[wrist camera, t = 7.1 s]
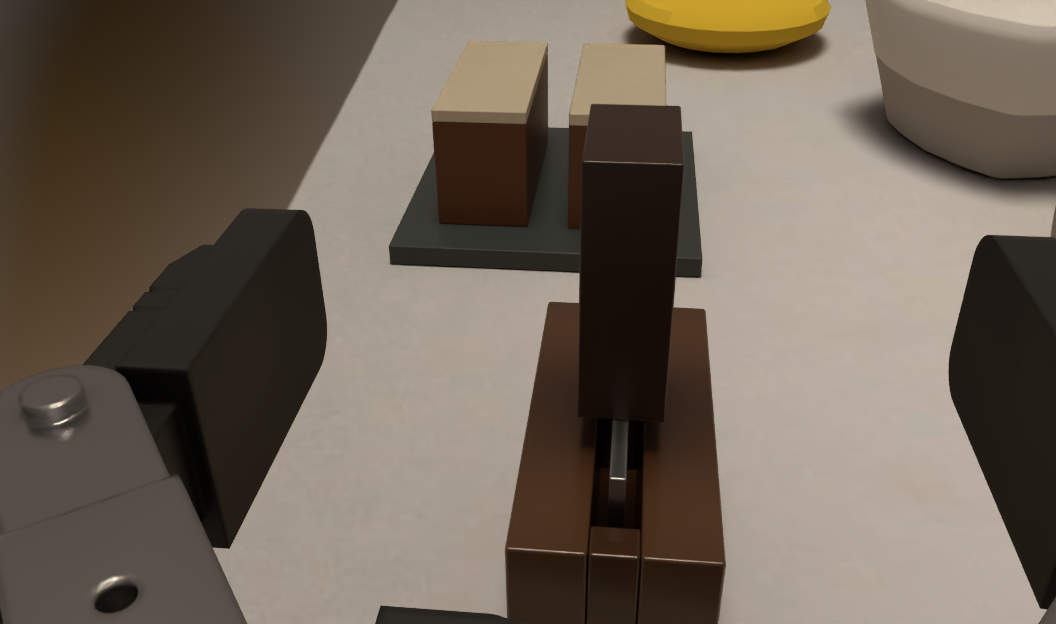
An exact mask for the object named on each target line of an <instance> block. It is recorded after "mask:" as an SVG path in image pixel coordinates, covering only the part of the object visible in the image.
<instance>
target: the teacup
mask: <svg viewBox="0 0 1056 624" xmlns="http://www.w3.org/2000/svg"><path fill="white" fill-rule="evenodd" d="M1051 237H1054V238H1056V207H1055V212H1054V218H1053V224H1052V230H1051Z"/></svg>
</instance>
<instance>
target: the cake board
mask: <svg viewBox="0 0 1056 624" xmlns="http://www.w3.org/2000/svg"><path fill="white" fill-rule="evenodd" d="M682 138H683V155H684V174H683V187H682V201H681V214H680V227H679V240H678V253H677V266H676V276H693V277H700V276H701V267H702V251H701V238H700V226H699V214H698V201H697V189H696V177H695V164H694V152H693V140H692V132H683V131H682ZM568 178H569V128H548V144H547V148H546V152H545V156H544V160H543V164H542V168H541V173H540V177H539V181H538V185H537V189H536V193H535V198H534V202H533V206H532V210H531V214H530V218H529V222H528V226H527V227H520V226H494V225H469V224H443V223H439V215H438V200H437V185H436V170H435V155H434V153H433V156H432V158H431V160H430V162H429V164H428V166H427V168H426V170H425V172H424V174H423V176H422V178H421V180H420V183H419V185H418V187H417V189H416V191H415V193H414V195H413V197H412V199H411V201H410V203H409V205H408V207H407V209H406V212H405V214H404V216H403V218H402V220H401V222H400V224H399V226H398V228H397V230H396V232H395V234H394V236H393V239H392V241H391V243H390V245H389V253H390V263H391V264H414V265H437V266H460V267H484V268H507V269H530V270H554V271H577V272H580V229H569V228H568Z"/></svg>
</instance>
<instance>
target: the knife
mask: <svg viewBox="0 0 1056 624" xmlns="http://www.w3.org/2000/svg"><path fill="white" fill-rule="evenodd" d="M683 174H684V155H683V138H682V121H681V108H680V106H658V105H620V104H591V106H590V112H589V119H588V125H587V131H586V138H585V144H584V150H583V157H582V167H581V225H580V283H579V341H578V399H577V416H578V417H579V418H596V419H613V424H612V441H611V458H610V475H609V497H608V522H607V527H614V528H624V516H625V497H626V478H627V451H628V425H629V420H631V421H649V422H664V421H665V411H666V398H667V385H668V372H669V358H670V345H671V332H672V319H673V306H674V293H675V279H676V266H677V253H678V240H679V227H680V214H681V201H682V187H683Z"/></svg>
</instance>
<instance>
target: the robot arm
mask: <svg viewBox="0 0 1056 624" xmlns="http://www.w3.org/2000/svg"><path fill="white" fill-rule="evenodd" d="M149 288H150V290H149V292H145V293H144V294H143V295H142V296H141V298H140V299H139V300H138V301H137V302H136V303H135V305H134V306H133V311H129V312H128V313H127V314H126V315H125V316H124V317H123V319H122V320H121V321H120V322H119V323H118V324H117V326H116V327H115V328H114V329H113V330H112V331H111V332H110V334H109V335H108V336H107V337H106V338H105V339H104V340H103V342H102V343H101V344H100V345H99V346H98V347H97V349H96V350H95V351H94V352H93V353H92V354H91V356H90V357H89V358H88V359H87V360H86V361H85V363H84V364H83V365H77V366H66V367H60V368H54V369H50V370H46V371H43V372H40V373H37V374H33V375H31V376H28V377H26V378H24V379H21V380H19V381H17V382H15V383H14V384H11V385H10V386H8V387H6V388H5V389H3V390H2V391H0V624H247V622H246V620H245V618H244V616H243V614H242V611H241V609H240V607H239V605H238V603H237V600H236V598H235V596H234V594H233V592H232V589H231V587H230V585H229V583H228V581H227V578H226V576H225V574H224V572H223V570H222V568H221V565H220V563H219V561H218V559H217V557H216V554H215V552H214V550H213V548H212V547H214V548H228V549H229V548H230V546H231V544H232V542H233V540H234V538H235V536H236V535H237V533H238V531H239V529H240V527H241V525H242V523H243V521H244V519H245V517H246V515H247V513H248V511H249V509H250V507H251V505H252V503H253V501H254V499H255V497H256V495H257V493H258V491H259V489H260V487H261V485H262V483H263V481H264V479H265V477H266V475H267V473H268V471H269V469H270V467H271V465H272V463H273V461H274V459H275V457H276V455H277V453H278V451H279V449H280V447H281V445H282V443H283V441H284V439H285V437H286V435H287V433H288V431H289V429H290V427H291V425H292V423H293V421H294V419H295V417H296V415H297V413H298V411H299V409H300V407H301V405H302V403H303V401H304V399H305V397H306V395H307V393H308V391H309V389H310V387H311V385H312V383H313V381H314V380H315V378H316V376H317V374H318V372H319V370H320V367H321V365H322V362H323V359H324V355H325V349H326V341H327V320H326V312H325V305H324V298H323V291H322V284H321V277H320V270H319V263H318V256H317V249H316V242H315V235H314V229H313V225H312V221H311V219H310V216H309V215H308V213H307V212H306V211H304V210H282V209H279V210H278V209H252V208H250V209H249V208H247V209H244V210H242V211H241V212H240V214H239V215H238V216H237V217H236V218H235V219H234V221H233V222H232V223H231V224H230V226H229V227H228V228H227V229H226V231H225V232H224V233H223V234H222V236H221V237H220V238H219V239H218V240H217V242H216V243H215V244H214V245H202V246H200V247H198V248H197V249H195V250H193V251H191V252H190V253H188V254H186V255H185V256H183V257H181V258H179V259H178V260H176V261H174V262H173V263H171V264H169V265H168V266H167V267H166V269H165V270H164V271H163V272H162V273H161V274H160V276H159V277H158V278H157V279H156V280H155V281H154V283H153V284H152V285H151V286H150V287H149ZM949 387H950V393H951V397H952V400H953V403H954V405H955V408H956V410H957V412H958V415H959V417H960V420H961V422H962V424H963V427H964V429H965V431H966V434H967V436H968V438H969V441H970V443H971V446H972V448H973V450H974V453H975V455H976V457H977V460H978V462H979V465H980V467H981V469H982V472H983V474H984V476H985V479H986V481H987V484H988V486H989V488H990V491H991V493H992V495H993V498H994V500H995V502H996V505H997V507H998V510H999V512H1000V514H1001V517H1002V519H1003V521H1004V524H1005V526H1006V529H1007V531H1008V533H1009V536H1010V538H1011V540H1012V543H1013V545H1014V547H1015V550H1016V552H1017V555H1018V557H1019V559H1020V562H1021V564H1022V566H1023V569H1024V571H1025V574H1026V576H1027V578H1028V581H1029V583H1030V585H1031V588H1032V590H1033V592H1034V595H1035V597H1036V600H1037V602H1038V604H1039V607H1040V609H1048V610H1047V611H1046V613H1045V614H1044V616H1043V617H1042V619H1041V621H1040V622H1039V624H1056V238H1054V237H1029V236H999V235H987V236H984V237H983V238H982V239H981V241H980V242H979V244H978V246H977V248H976V251H975V254H974V257H973V261H972V265H971V269H970V273H969V277H968V281H967V285H966V289H965V293H964V297H963V301H962V305H961V309H960V313H959V317H958V321H957V325H956V330H955V334H954V338H953V342H952V346H951V351H950V357H949ZM375 624H524V623H521V622H517V621H514V620H511V619H507V618H504V617H501V616H497V615H494V614H484V613H471V612H458V611H444V610H431V609H418V608H404V607H391V606H380V610H379V613H378V616H377V620H376V623H375Z"/></svg>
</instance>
